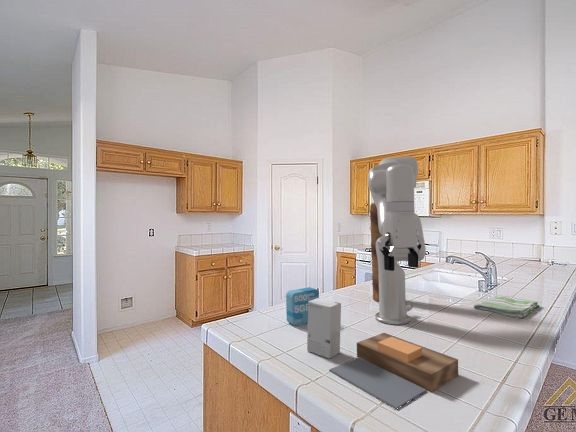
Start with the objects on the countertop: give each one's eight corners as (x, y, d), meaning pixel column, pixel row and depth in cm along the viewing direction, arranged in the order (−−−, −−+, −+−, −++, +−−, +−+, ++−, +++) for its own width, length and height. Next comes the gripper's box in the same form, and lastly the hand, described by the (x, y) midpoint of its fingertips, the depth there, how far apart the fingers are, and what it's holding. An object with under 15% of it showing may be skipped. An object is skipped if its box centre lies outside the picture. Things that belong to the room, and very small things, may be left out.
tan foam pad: (377, 349, 83) (377, 342, 83) (391, 343, 87) (391, 336, 87) (408, 362, 76) (407, 354, 76) (422, 355, 79) (421, 347, 79)
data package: (292, 326, 112) (292, 293, 112) (286, 323, 116) (285, 291, 116) (319, 320, 119) (319, 288, 118) (312, 317, 122) (312, 286, 122)
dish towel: (472, 310, 129) (471, 301, 129) (493, 299, 143) (493, 292, 143) (522, 321, 115) (522, 311, 115) (540, 308, 129) (540, 299, 129)
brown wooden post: (375, 295, 152) (374, 203, 152) (397, 298, 146) (396, 202, 145) (367, 300, 144) (365, 202, 143) (390, 304, 137) (389, 201, 137)
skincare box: (306, 351, 92) (305, 301, 92) (318, 344, 96) (317, 296, 96) (331, 359, 86) (330, 306, 86) (342, 352, 91) (341, 301, 91)
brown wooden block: (384, 345, 95) (383, 332, 95) (458, 375, 77) (458, 359, 77) (356, 356, 88) (356, 342, 88) (431, 392, 70) (431, 374, 70)
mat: (358, 358, 87) (358, 357, 87) (426, 391, 70) (426, 389, 70) (329, 370, 80) (329, 369, 80) (396, 409, 64) (396, 407, 64)
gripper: (410, 209, 97) (411, 264, 97) (368, 209, 89) (369, 269, 88) (431, 208, 90) (433, 267, 90) (388, 208, 82) (389, 273, 82)
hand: (401, 268), depth 89 cm, fingers open, 9 cm apart
